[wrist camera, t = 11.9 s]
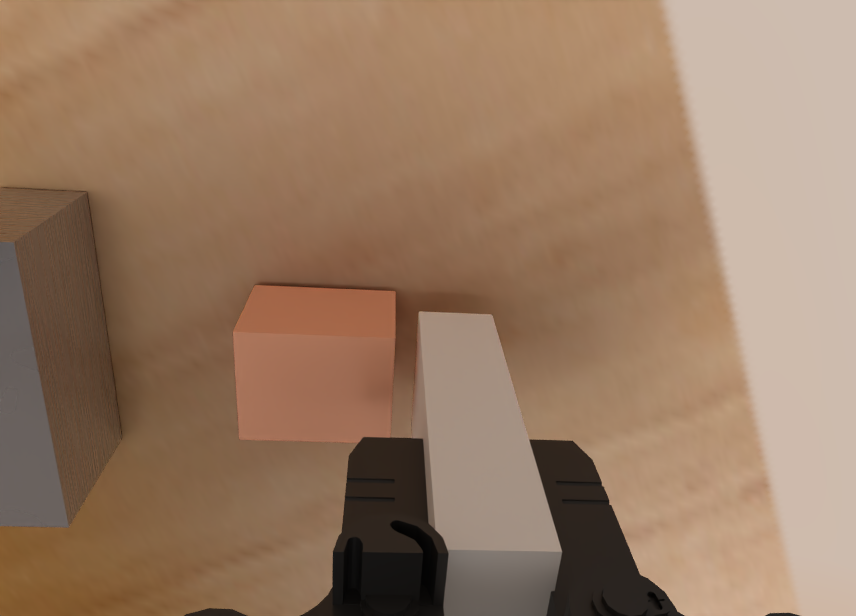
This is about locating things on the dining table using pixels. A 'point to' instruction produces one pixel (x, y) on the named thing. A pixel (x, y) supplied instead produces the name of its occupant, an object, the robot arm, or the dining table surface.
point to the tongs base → (51, 359)
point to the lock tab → (315, 364)
